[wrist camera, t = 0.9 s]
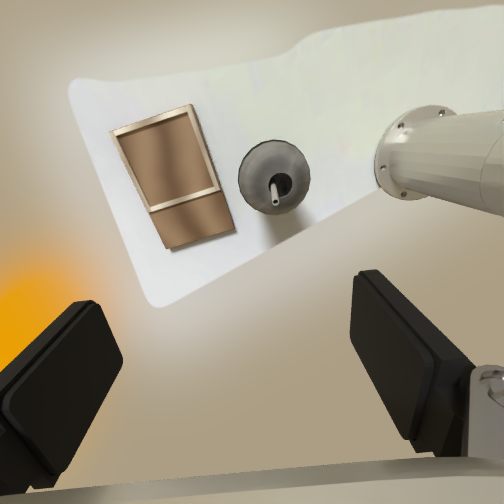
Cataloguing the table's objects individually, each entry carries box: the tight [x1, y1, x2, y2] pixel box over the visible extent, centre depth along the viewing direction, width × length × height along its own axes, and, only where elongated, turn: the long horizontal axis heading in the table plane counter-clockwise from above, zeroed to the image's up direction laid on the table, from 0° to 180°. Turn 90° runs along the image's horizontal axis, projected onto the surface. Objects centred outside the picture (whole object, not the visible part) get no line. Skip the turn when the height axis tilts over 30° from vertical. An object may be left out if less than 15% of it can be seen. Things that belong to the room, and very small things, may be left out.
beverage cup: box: [238, 140, 311, 215], centre depth 27 cm, size 7×7×20 cm
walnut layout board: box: [109, 104, 234, 249], centre depth 35 cm, size 11×17×2 cm, turn 17°
